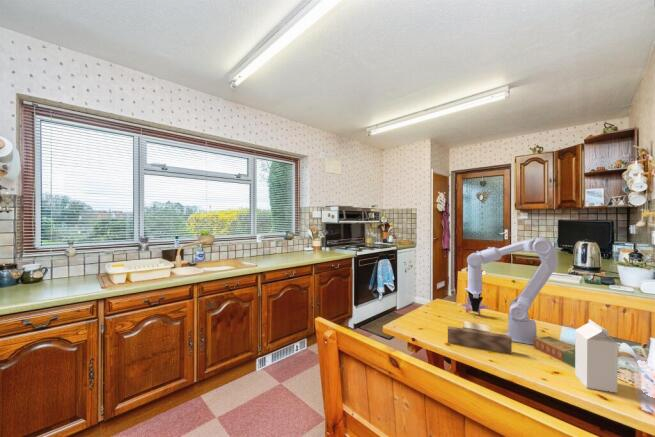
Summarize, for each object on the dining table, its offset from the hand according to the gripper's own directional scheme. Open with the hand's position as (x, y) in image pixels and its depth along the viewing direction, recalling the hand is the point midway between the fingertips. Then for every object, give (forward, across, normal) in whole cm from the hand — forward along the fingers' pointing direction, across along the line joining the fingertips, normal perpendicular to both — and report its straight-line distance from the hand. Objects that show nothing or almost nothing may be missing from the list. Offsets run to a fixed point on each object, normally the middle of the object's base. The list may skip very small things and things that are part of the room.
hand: (474, 309), depth 123 cm
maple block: (+10, +8, 0) cm, 13 cm away
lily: (+10, -19, +1) cm, 21 cm away
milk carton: (+10, +29, +31) cm, 44 cm away
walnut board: (+9, +17, 0) cm, 20 cm away
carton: (+10, +13, +28) cm, 32 cm away
